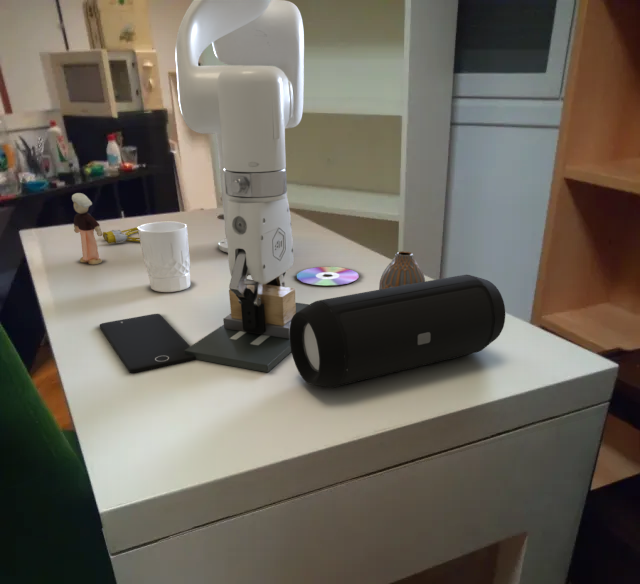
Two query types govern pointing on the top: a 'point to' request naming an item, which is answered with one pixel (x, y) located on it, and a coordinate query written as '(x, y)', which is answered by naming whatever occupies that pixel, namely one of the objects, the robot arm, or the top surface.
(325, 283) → the cd
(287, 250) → the robot arm
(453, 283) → the portable speaker
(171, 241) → the white cup
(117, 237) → the yellow grey glove
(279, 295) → the eraser
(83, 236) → the grandmother figurine
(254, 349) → the slate board
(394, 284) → the vase
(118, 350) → the cell phone
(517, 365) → the top surface
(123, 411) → the top surface
